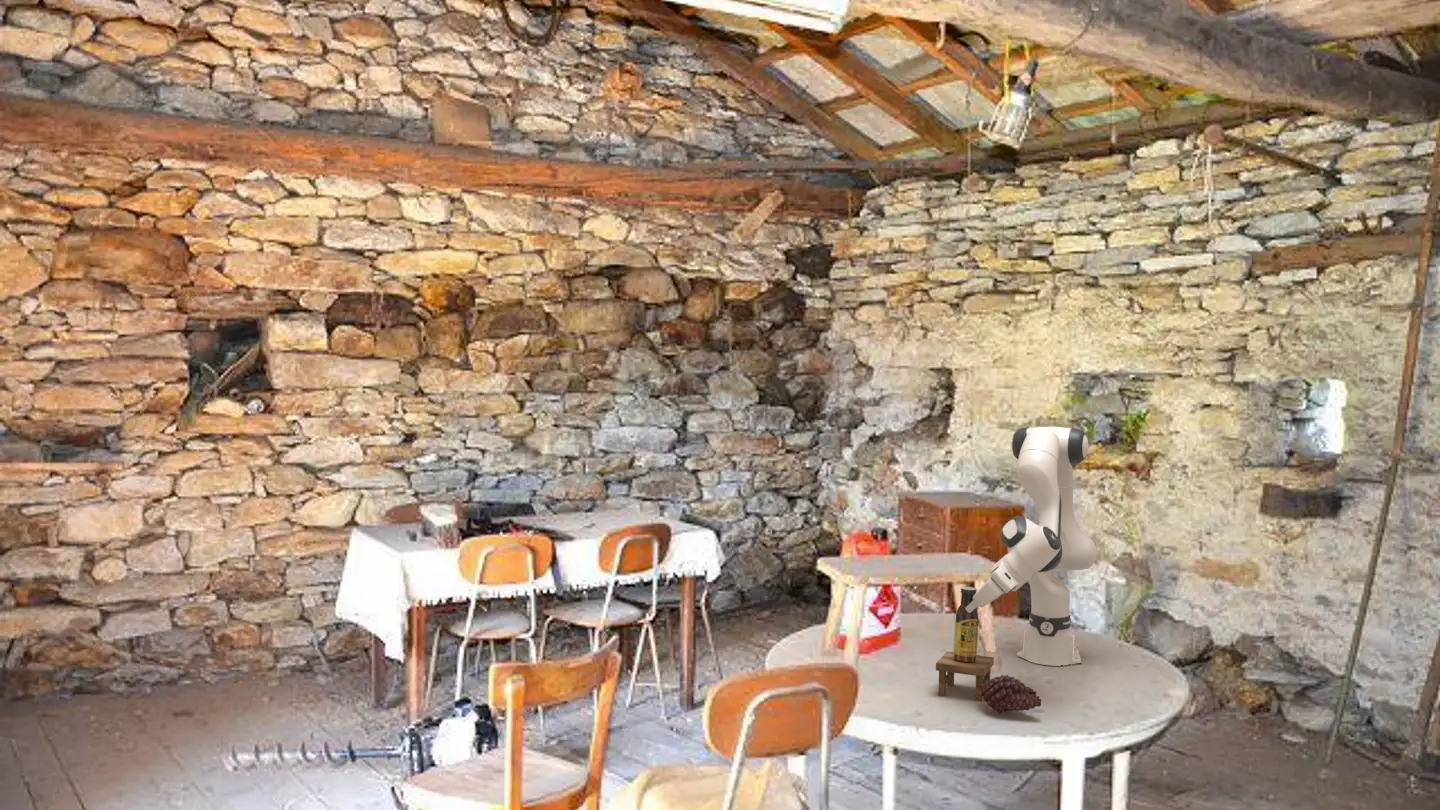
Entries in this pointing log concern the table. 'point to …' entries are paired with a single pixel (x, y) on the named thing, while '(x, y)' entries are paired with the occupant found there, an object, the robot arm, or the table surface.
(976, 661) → the light brown wooden stool
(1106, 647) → the table surface
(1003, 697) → the pine cone
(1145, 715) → the table surface
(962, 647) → the sauce bottle
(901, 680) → the table surface
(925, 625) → the table surface
